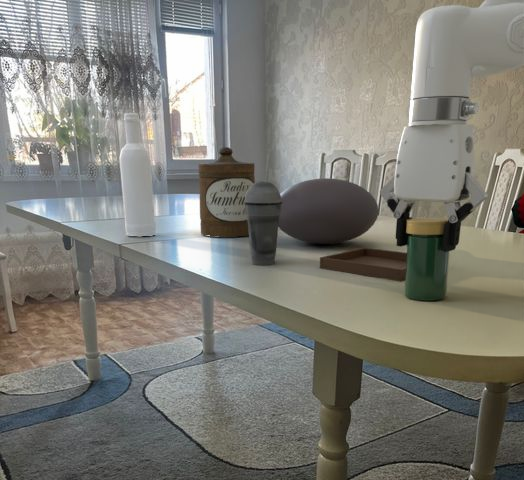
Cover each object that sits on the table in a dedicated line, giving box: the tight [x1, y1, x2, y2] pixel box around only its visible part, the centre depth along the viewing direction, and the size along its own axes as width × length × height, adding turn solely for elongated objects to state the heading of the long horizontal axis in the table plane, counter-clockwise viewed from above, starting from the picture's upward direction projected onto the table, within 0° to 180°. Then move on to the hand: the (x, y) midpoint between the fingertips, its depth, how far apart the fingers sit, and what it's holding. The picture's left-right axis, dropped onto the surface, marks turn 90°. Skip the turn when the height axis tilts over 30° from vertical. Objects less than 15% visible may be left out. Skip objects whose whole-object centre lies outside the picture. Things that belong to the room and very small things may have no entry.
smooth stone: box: [278, 178, 379, 245], centre depth 128 cm, size 25×25×15 cm
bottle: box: [119, 112, 157, 236], centre depth 140 cm, size 8×8×30 cm
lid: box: [406, 217, 448, 235], centre depth 79 cm, size 6×6×2 cm
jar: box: [404, 234, 450, 301], centre depth 80 cm, size 6×6×10 cm
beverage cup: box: [244, 155, 282, 266], centre depth 104 cm, size 7×7×20 cm
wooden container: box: [197, 146, 256, 238], centre depth 143 cm, size 15×15×22 cm
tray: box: [319, 246, 407, 282], centre depth 102 cm, size 17×15×2 cm
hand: (425, 246), depth 79 cm, fingers closed on lid, 6 cm apart
